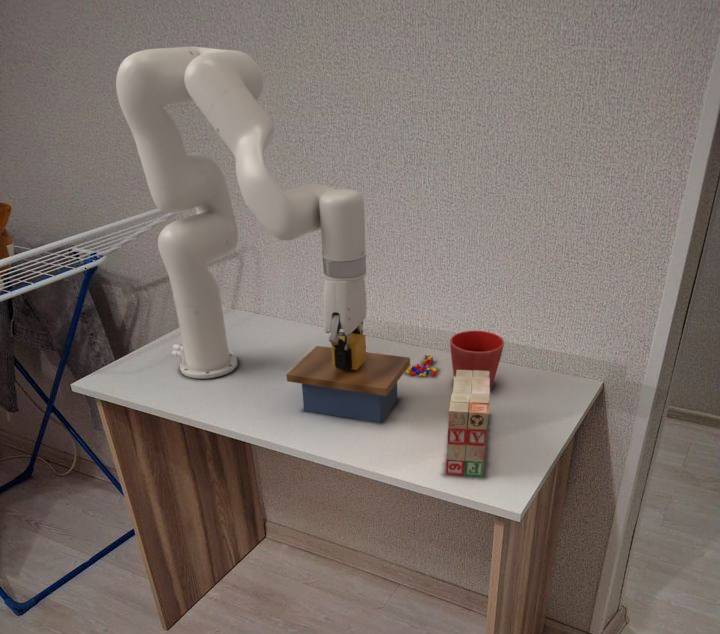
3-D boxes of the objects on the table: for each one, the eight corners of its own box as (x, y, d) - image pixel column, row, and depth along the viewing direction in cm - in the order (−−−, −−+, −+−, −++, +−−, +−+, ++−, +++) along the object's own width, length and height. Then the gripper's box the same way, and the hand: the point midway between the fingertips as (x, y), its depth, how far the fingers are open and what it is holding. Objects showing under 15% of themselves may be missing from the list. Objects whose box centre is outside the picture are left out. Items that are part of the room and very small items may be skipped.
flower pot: (510, 381, 140) (514, 337, 134) (482, 401, 133) (486, 356, 128) (466, 368, 146) (468, 325, 140) (437, 387, 139) (439, 343, 133)
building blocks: (402, 374, 144) (402, 367, 144) (416, 359, 150) (417, 352, 149) (431, 379, 142) (431, 372, 141) (444, 364, 148) (444, 357, 147)
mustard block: (332, 366, 127) (330, 342, 125) (342, 356, 131) (341, 332, 128) (357, 370, 126) (355, 345, 123) (366, 359, 130) (365, 334, 127)
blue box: (304, 410, 133) (301, 378, 129) (324, 388, 140) (322, 357, 136) (380, 423, 127) (379, 390, 124) (397, 399, 135) (397, 367, 131)
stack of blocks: (454, 413, 130) (457, 353, 123) (487, 415, 129) (492, 355, 122) (445, 474, 112) (448, 409, 105) (483, 477, 111) (489, 412, 104)
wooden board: (286, 381, 128) (286, 374, 127) (317, 352, 138) (316, 345, 137) (386, 396, 121) (386, 388, 120) (410, 364, 132) (410, 357, 131)
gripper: (343, 251, 126) (347, 342, 136) (304, 279, 113) (313, 378, 123) (381, 254, 124) (382, 346, 134) (346, 283, 111) (351, 383, 121)
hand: (349, 361), depth 128 cm, fingers closed on mustard block, 5 cm apart
